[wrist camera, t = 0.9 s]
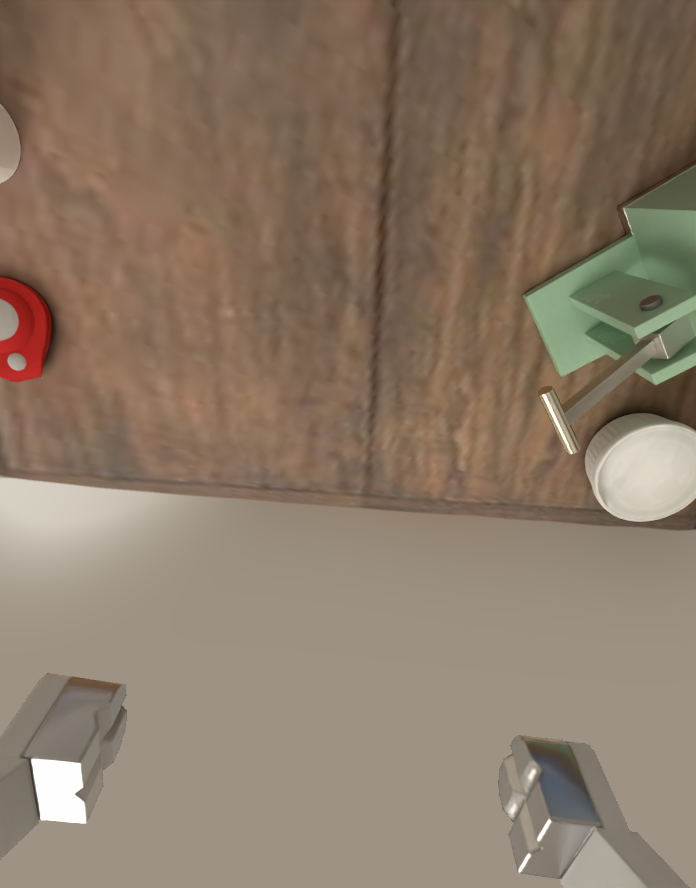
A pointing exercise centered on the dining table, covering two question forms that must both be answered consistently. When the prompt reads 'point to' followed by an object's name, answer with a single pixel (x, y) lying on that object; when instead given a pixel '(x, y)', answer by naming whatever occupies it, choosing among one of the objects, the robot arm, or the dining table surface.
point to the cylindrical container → (8, 146)
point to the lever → (613, 378)
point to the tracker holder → (22, 331)
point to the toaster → (666, 230)
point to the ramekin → (643, 466)
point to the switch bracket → (609, 311)
